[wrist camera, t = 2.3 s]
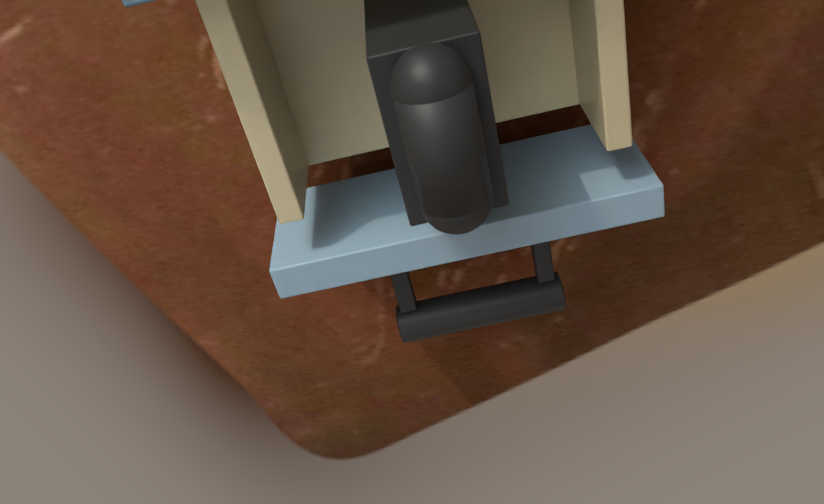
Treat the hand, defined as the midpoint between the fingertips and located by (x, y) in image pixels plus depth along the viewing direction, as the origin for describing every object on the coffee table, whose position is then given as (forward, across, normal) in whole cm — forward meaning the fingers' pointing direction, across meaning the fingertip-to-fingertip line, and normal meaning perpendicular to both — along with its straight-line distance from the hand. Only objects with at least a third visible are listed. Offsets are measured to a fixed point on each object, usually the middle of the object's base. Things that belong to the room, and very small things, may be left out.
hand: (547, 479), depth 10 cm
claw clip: (+17, 0, 0) cm, 17 cm away
